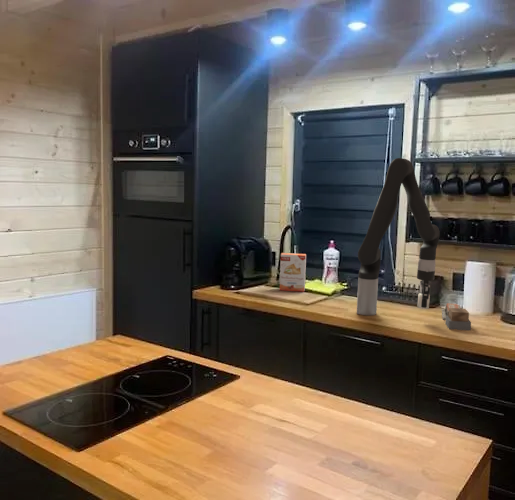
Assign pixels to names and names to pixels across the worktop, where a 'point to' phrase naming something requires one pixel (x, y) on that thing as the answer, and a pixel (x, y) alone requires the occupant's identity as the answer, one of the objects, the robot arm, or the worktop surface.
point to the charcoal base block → (458, 324)
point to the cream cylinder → (421, 301)
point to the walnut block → (458, 314)
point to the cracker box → (292, 272)
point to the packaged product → (446, 310)
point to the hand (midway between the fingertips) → (423, 305)
